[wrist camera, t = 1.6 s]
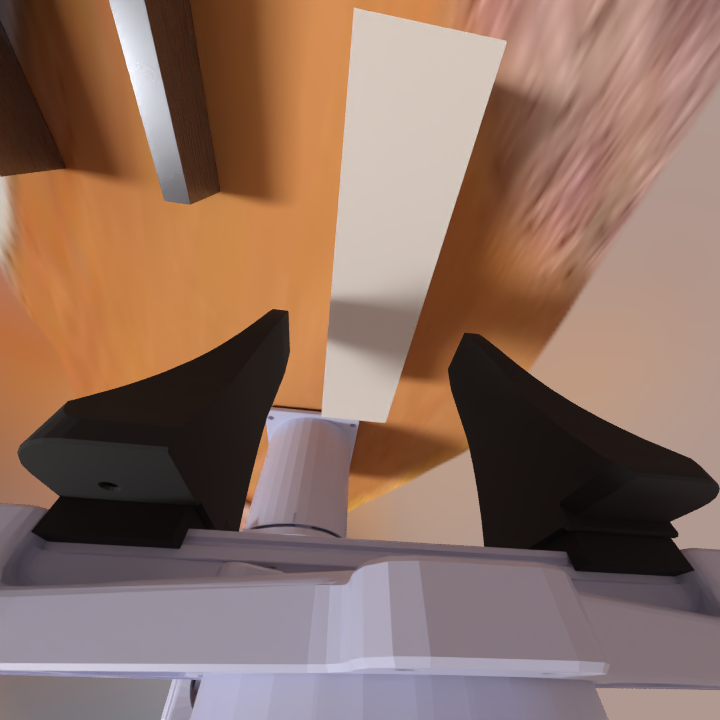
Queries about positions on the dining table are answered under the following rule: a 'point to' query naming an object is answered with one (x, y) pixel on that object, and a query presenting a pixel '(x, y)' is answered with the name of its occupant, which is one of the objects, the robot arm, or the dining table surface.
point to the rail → (397, 194)
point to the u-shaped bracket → (153, 94)
